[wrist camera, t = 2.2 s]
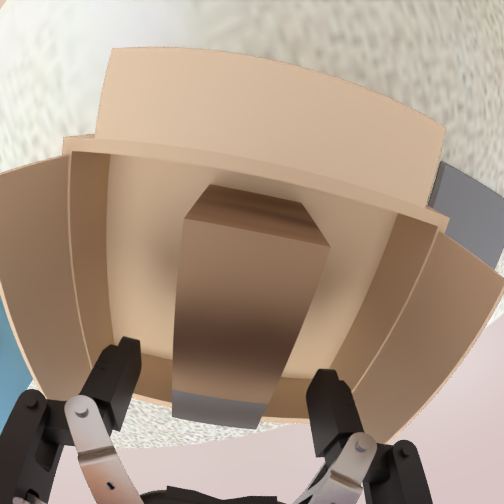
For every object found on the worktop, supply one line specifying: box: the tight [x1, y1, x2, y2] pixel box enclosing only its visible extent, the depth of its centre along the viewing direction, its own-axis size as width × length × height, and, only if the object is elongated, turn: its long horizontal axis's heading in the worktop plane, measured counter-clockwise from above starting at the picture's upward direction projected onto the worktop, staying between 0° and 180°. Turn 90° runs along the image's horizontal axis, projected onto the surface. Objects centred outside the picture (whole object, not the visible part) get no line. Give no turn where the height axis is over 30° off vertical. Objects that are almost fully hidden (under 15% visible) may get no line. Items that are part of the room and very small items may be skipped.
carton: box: [0, 47, 504, 444], centre depth 12 cm, size 20×18×10 cm
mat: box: [428, 162, 504, 270], centre depth 16 cm, size 10×10×1 cm
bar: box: [172, 184, 331, 429], centre depth 14 cm, size 12×5×6 cm, turn 168°
